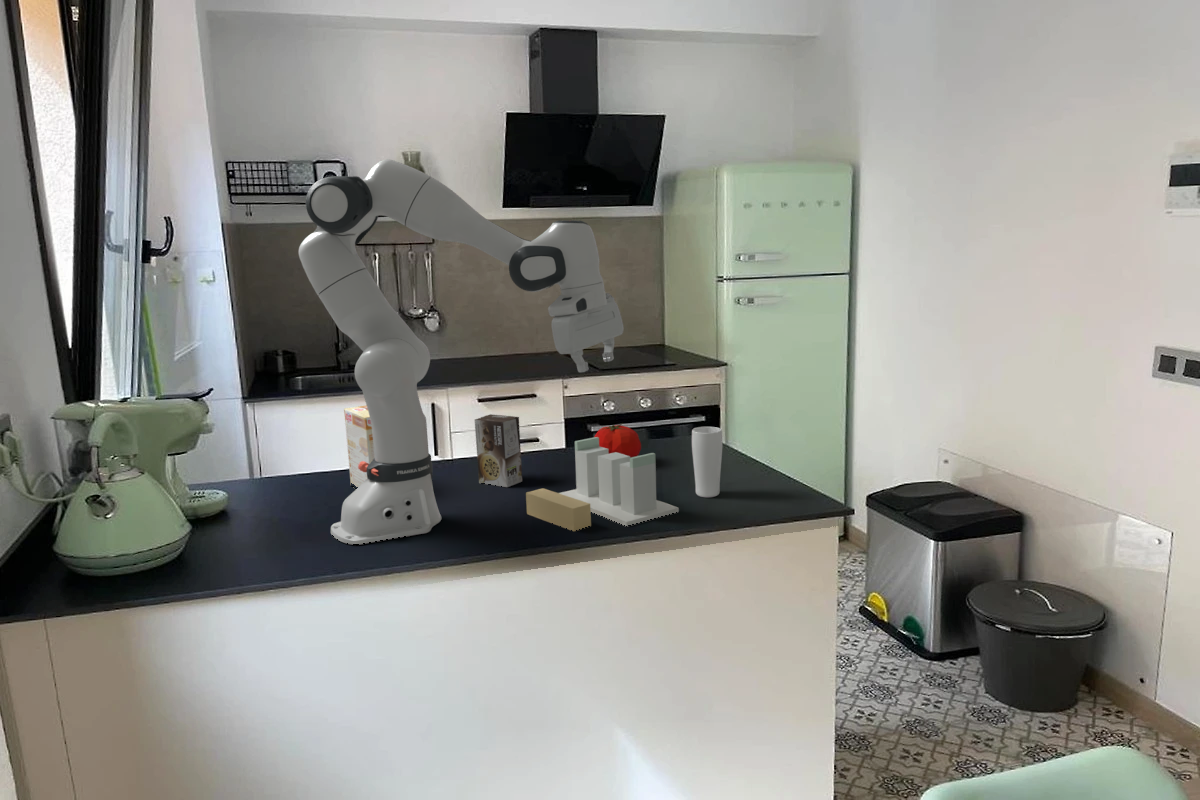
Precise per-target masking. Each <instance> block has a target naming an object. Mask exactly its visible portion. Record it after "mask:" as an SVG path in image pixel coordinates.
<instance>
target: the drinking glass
mask: <svg viewBox="0 0 1200 800" xmlns="http://www.w3.org/2000/svg"><path fill="white" fill-rule="evenodd" d="M691 453H692V463H693V472H694V485H695V494H696V495H697V497H701V498H715V497H717V496H719V494H720V489H721V488H720V487H721V486H720V483H721V470H722V460H723V459H722V458H723V457H722V456H723V429H722V428H720V427H715V426H698V427H694V428H693V429H691Z"/></svg>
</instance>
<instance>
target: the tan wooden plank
mask: <svg viewBox="0 0 1200 800" xmlns="http://www.w3.org/2000/svg"><path fill="white" fill-rule="evenodd" d="M559 493H560V492H556V491H553V490H549V489H547V488H544V487H543V488H538V489H535V490H531V491H527V492H525V501H526V502H525V503H526V515H529V516H531V517H534V518H536V519H539V520H542V521H544V522H547V523H550V524H552V523H553V524H552V525H556V526H558V527H560V526H561V527H560V528H563V529H566V528H567V530H569V531H571V530H572V531H571V532H577V531H580V530H582V528H584V529H586V528H585V527H587V528H589V527H588V526H590V527H592V517H591V515H592V514H591V510H590V503H586V502H583V501H580V500H577V499H574V498H571V497H568V496H565V495H562V494H559ZM579 529H580V530H579ZM576 530H577V531H576Z"/></svg>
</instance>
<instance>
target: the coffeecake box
mask: <svg viewBox="0 0 1200 800" xmlns="http://www.w3.org/2000/svg"><path fill="white" fill-rule="evenodd" d="M343 411H344V412H343V413H344V422H345V423H344V424H345V435H346V444H347V445H346V446H347V455H348V456H347V457H348V468H349V479H350V484H351V483H352V484H354V485H355V486H356V487H359V486H360V485H361V484H362V483H363V482H364V481H365V480H366V479H367V472H363V471H361V470H360V469H358V464H360V462H362V461H365V462H366V463H368V464H370V463H371V462H372V461H373V459H374V458H375V456H374V445H373V434H372V425H371V420H370V415H369V412H368V408H367V405H360V406H359V405H358V406H353V407H345V408H343Z"/></svg>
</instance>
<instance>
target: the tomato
mask: <svg viewBox="0 0 1200 800" xmlns="http://www.w3.org/2000/svg"><path fill="white" fill-rule="evenodd" d="M623 424H624V423H623V422H622V423H620V424H612V425H608V426H603V427H601V428H599V429H598V431H597V432H596V433H595V435H594V437H598V438H599V446H600V447H603V448H607V449H608V452H609V454H610V453H615V452H617V453H620V454H624V455H627V456H630V458H631V457H636V456H639V455H640V452H641V450H642V442H641V440H640V438H639V434H638V433H637V431H635V430H633V429H632V428H630V427H628V426H625V425H623ZM594 437H593V438H594Z"/></svg>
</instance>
